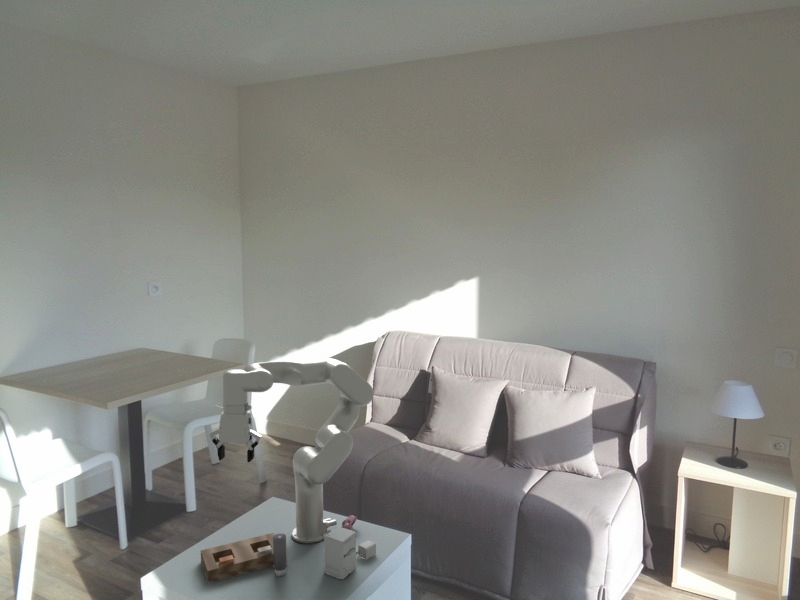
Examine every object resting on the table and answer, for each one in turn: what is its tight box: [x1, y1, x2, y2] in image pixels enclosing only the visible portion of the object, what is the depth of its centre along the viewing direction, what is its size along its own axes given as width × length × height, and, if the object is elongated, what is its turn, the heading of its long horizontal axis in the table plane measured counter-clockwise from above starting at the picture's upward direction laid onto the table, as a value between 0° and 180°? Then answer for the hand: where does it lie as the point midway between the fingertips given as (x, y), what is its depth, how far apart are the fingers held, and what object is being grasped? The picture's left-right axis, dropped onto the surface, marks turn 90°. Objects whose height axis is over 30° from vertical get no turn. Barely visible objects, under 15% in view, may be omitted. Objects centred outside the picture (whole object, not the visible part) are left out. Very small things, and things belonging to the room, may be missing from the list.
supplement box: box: [323, 526, 357, 580], centre depth 183 cm, size 7×7×13 cm
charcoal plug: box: [273, 533, 288, 577], centre depth 182 cm, size 4×4×12 cm
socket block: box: [200, 532, 276, 584], centre depth 188 cm, size 24×13×6 cm, turn 118°
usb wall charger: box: [356, 539, 377, 560], centre depth 192 cm, size 4×7×4 cm, turn 137°
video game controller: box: [341, 514, 358, 531], centre depth 207 cm, size 10×5×7 cm, turn 169°
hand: (235, 459), depth 189 cm, fingers open, 9 cm apart
